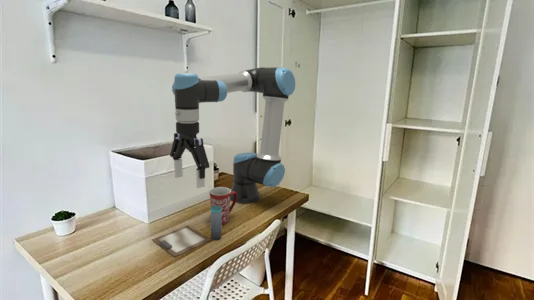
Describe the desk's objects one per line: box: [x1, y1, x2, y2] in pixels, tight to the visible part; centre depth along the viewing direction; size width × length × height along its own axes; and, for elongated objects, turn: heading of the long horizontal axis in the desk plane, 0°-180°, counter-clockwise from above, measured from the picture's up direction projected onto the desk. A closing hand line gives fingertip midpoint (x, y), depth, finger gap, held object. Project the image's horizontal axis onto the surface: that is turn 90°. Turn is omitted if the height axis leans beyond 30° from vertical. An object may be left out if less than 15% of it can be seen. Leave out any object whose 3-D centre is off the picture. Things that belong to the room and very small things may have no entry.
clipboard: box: [152, 225, 212, 258], centre depth 108 cm, size 15×15×1 cm
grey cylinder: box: [210, 206, 222, 241], centre depth 110 cm, size 4×4×12 cm
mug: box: [208, 186, 237, 225], centre depth 124 cm, size 13×9×14 cm
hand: (189, 181), depth 102 cm, fingers open, 13 cm apart
